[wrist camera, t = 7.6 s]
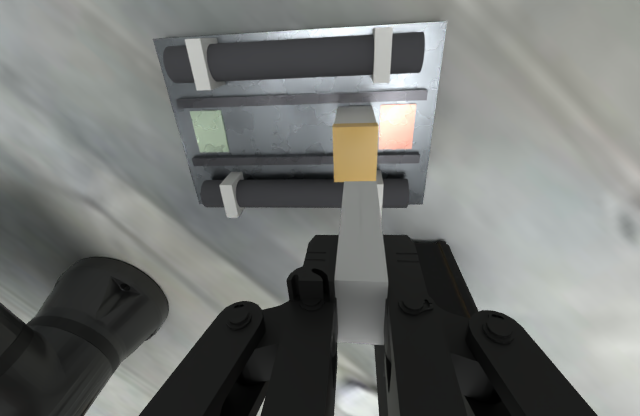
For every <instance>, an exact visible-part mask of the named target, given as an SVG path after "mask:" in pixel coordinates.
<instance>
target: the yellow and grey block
mask: <svg viewBox="0 0 640 416" xmlns="http://www.w3.org/2000/svg"><path fill="white" fill-rule="evenodd" d="M332 129H333V162H334V182H344V181H376V173H377V151H378V129H379V126H378V123H377V122H376V118H375V115H374V111H373V107H372V106H348V107H338V108H337V113H336V117H335V122H334V124H333V127H332Z"/></svg>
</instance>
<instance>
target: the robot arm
mask: <svg viewBox="0 0 640 416" xmlns="http://www.w3.org/2000/svg"><path fill="white" fill-rule="evenodd" d="M287 287H288V293H289V299H290V300H289V301H288V302H286V303H284V304H282V305H280V306H277V307H273V308H268V309H264V310H261V308H260V307H259V306H258V305H257V304H255V303H253V302H249V301H241V302H237V303H234V304H232V305H230V306H228V307H226V308H225V309H224V310H223V311H222V312H221V313H220V314H219V315H218V316H217V317H216V319H215V320H214V321H213V323H212V324H211V325H210V326H209V328H208V329H207V330H206V331H205V333H204V334H203V335H202V336H201V338H200V339H199V340H198V341H197V343H196V344H195V345H194V347H193V348H192V349H191V350H190V352H189V353H188V354H187V355H186V357H185V358H184V359H183V360H182V362H181V363H180V364H179V365H178V367H177V368H176V369H175V371H174V372H173V373H172V374H171V376H170V377H169V378H168V379H167V381H166V382H165V383H164V384H163V386H162V387H161V388H160V389H159V391H158V392H157V393H156V395H155V396H154V397H153V398H152V400H151V401H150V402H149V403H148V405H147V406H146V407H145V408H144V410H143V411H142V412H141V413H140V415H139V416H256V415H257V413H258V411H259V408H260V406H261V404H262V402H263V400H264V398H265V401H264V405H263V409H262V413H261V416H334V406H335V390H336V374H337V342H340V343H357V344H374V345H384V342H385V361H384V374H383V377H386V390H387V404H388V416H597V414H596V413H595V412H594V411H593V410H592V409H591V407H590V406H589V405H588V404H587V403H586V401H585V400H584V399H583V398H582V397H581V396H580V394H579V393H578V392H577V391H576V390H575V389H574V387H573V386H572V385H571V384H570V383H569V381H568V380H567V379H566V378H565V377H564V376H563V374H562V373H561V372H560V371H559V370H558V368H557V367H556V366H555V365H554V364H553V363H552V361H551V360H550V359H549V358H548V357H547V356H546V354H545V353H544V352H543V351H542V350H541V348H540V347H539V346H538V345H537V344H536V343H535V341H534V340H533V339H532V338H531V337H530V336H529V334H528V333H527V332H526V331H525V330H524V328H523V327H522V326H521V325H519V324H518V323H517V322H516V321H515V320H514V319H512V318H510V317H508V316H507V315H505V314H503V313H499V312H496V311H489V310H482V311H479V312H476V313H474V314H473V315H472V317H471V318H470V319H469V318H466V317H463V316H459V315H456V314H453V313H450V312H447V311H445V310H443V309H442V308H440V307H439V306H437V305H436V304H435V302H434V300H433V299H432V298H431V297H429V295H428V292H427V289H426V285H425V281H424V277H423V274H422V270H421V266H420V263H419V258H418V255H417V251H416V247H415V243H414V242H413V241H412V240H411V239H410V238H409V237H408V236H407V235H383V232H382V224H381V215H380V207H379V198H378V190H377V181H344V188H343V198H342V208H341V218H340V228H339V235H315V236H314V238H313V239H312V240H311V241H310V242H309V244H308V248H307V253H306V257H305V261H304V265H303V267H300V268H298V269H296V270H294V271H293V272H292V273H291V274H290V275H289V277H288V278H287ZM167 315H168V303H167V300H166V298H165V296H164V294H163V292H162V291H161V289H160V288H159V287H158V286H157V284H156V283H155V282H154V281H153V280H151V279H150V278H149V277H148V276H147V275H145V274H144V273H142V272H141V271H139V270H138V269H136V268H134V267H132V266H130V265H128V264H126V263H123V262H120V261H117V260H113V259H109V258H100V257H93V258H86V259H83V260H80V261H78V262H76V263H75V264H74V265H73V266H71V267H70V268H69V269H68V270H67V271H65V272H64V273H63V274H62V275H61V276H60V277H59V279H58V280H57V283H56V284H55V288H54V289H53V290H52V292H51V293H50V295H49V296H48V298H47V299H46V301H45V302H44V304H43V305H42V307H41V309H40V310H39V312H38V313H37V315H36V316H35V317H34V318H33V319H32V320H31V321H30V322H28V323H27V324H25V323H24V322H23V321H22V320H20V319H19V318H18V317H17V316H16V315H14V314H13V313H12V312H11V311H10V310H9V309H7V308H6V307H5V306H4V305H3V304H2V303H0V416H84V415H85V413H86V412H87V410H88V409H89V408H90V406H91V405H92V403H93V402H94V400H95V399H96V398H97V396H98V395H99V393H100V392H101V390H102V389H103V388H104V386H105V385H106V383H107V382H108V380H109V379H110V377H111V376H112V374H113V373H114V372H115V370H116V369H117V367H118V366H119V365H120V363H121V362H122V361H123V360H124V359H126V358H127V357H128V356H129V355H130V354H131V353H133V352H134V351H135V350H136V349H137V348H138V347H139V346H140V345H141V344H142V343H143V342H144V341H146V340H148V339H150V338H151V337H152V336H153V335H155V334H156V333H157V331H158V330H159V329H160V327H161V326H162V324H163V323H164V321H165V320H166V318H167ZM265 396H266V397H265Z"/></svg>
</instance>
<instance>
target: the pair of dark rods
mask: <svg viewBox="0 0 640 416" xmlns="http://www.w3.org/2000/svg"><path fill="white" fill-rule="evenodd" d="M185 43H186V45H182V46H167V47H166V48H165V50H164V53H163V62H164V67H165V70H166V72H167V75H168V76H169V78H170V79H171V80H172V81H173V82H174V83H195V85H196V90H197V91H198V90H212V89H215V88H217V87H220V86H222V85H225V81H245V80H268V79H292V78H315V77H338V76H361V75H371V79H372V81H373V83H390V74H407V73H420V72H421V69H422V66H423V61H424V53H425V35H424V32H409V33H393V27H382V28H373V35H356V36H339V37H321V38H304V39H287V40H269V41H252V42H234V43H218V42H217V38H198V39H185ZM376 181H377V190H378V198H379V207H380V215H381V219H382V208H407V206H408V202H409V183H408V179H382V174H381V170H377V173H376ZM343 188H344V182H334V179H276V180H244V178H243V173H242V172H231V173H230V174H229V175H228V176H227V177H226V178H225V179H224V180H205V181H204V182H203V183H202V186H201V200H202V203H203V205H204V206H205V207H225V212H226V216H227V218H239V216H240V215H241V213H242V212H243V210H244V208H245V207H295V208H342V198H343Z"/></svg>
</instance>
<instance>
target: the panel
mask: <svg viewBox="0 0 640 416" xmlns="http://www.w3.org/2000/svg"><path fill="white" fill-rule="evenodd" d="M446 26H447V21H442V22H425V23H409V24H392V25H375V26H359V27H342V28H326V29H309V30H293V31H276V32H260V33H243V34H226V35H210V36H193V37H177V38H160V39H153V41H154V44H155V48H156V52H157V55H158V59H159V62H160V66H161V69H162V73H163V76H164V80H165V83H166V87H167V90H168V94H169V98H170V101H171V105H172V108H173V112H174V115H175V119H176V122H177V126H178V129H179V133H180V136H181V140H182V144H183V147H184V151H185V154H186V158H187V161H188V165H189V168H190V172H191V175H192V179H193V182H194V186H195V190H196V193H197V197H198V200H199V204H203V203H202V200H201V186H202V183H203V182H204V181H205V180H224V179H225V178H226V177H227V176H228V175H229V174H230V173H231V172H242V173H243V178H244V180H276V179H334V162H333V129H332V127H333V124H334V122H335V117H336V113H337V108H338V107H348V106H372V107H373V111H374V115H375V118H376V122H377V123H378V126H379V129H378V151H377V170H381V174H382V179H408V183H409V202H408V204H423V197H424V190H425V182H426V175H427V167H428V160H429V153H430V145H431V138H432V130H433V123H434V115H435V108H436V100H437V93H438V86H439V78H440V71H441V63H442V56H443V48H444V41H445V33H446ZM382 27H393V33H409V32H424V35H425V53H424V61H423V66H422V69H421V72H420V73H407V74H390V83H373V81H372V79H371V75H361V76H338V77H315V78H292V79H268V80H245V81H225V85H222V86H220V87H217V88H215V89H212V90H198V91H197V90H196V85H195V83H174V82H173V81H172V80H171V79H170V78H169V76H168V75H167V72H166V70H165V67H164V62H163V53H164V50H165V48H166V47H167V46H182V45H186V43H185V39H198V38H217V42H218V43H234V42H252V41H269V40H287V39H304V38H321V37H339V36H356V35H373V28H382Z"/></svg>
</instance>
